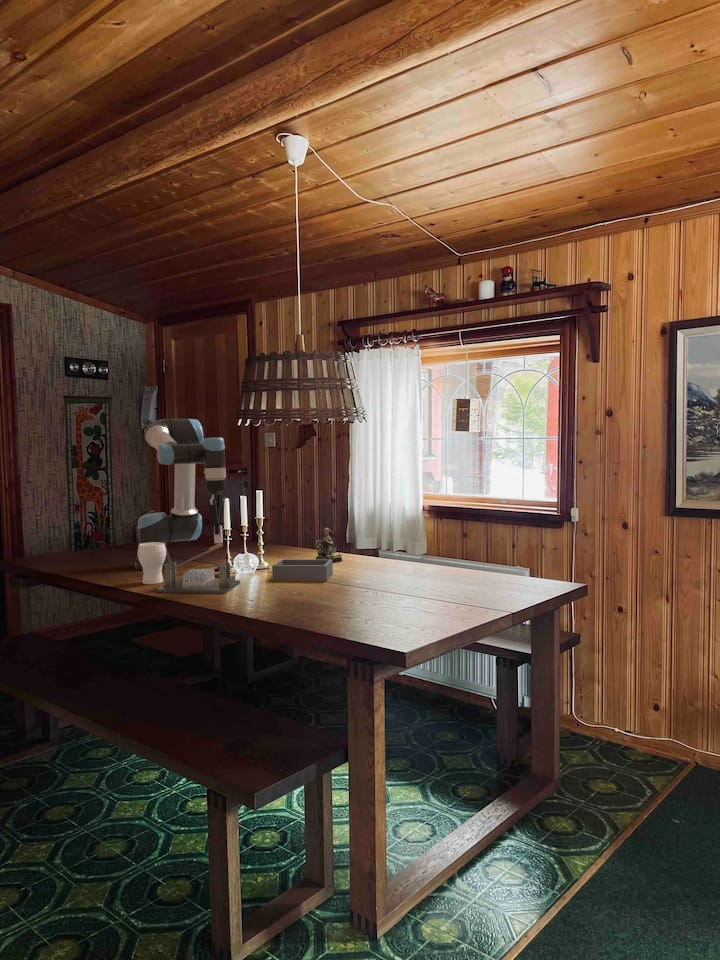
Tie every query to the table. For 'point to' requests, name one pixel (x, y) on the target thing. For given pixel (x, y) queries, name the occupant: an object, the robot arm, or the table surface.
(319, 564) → the tray
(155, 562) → the cup
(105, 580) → the table surface
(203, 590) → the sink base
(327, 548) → the figurine
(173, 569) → the strap
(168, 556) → the robot arm
